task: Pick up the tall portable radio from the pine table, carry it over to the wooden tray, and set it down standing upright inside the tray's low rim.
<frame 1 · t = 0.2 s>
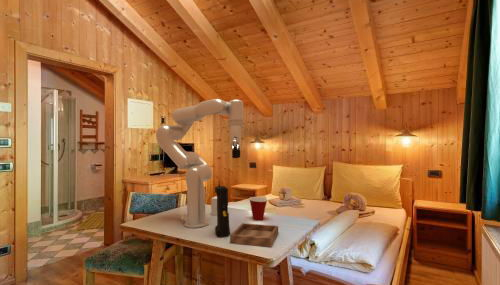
hand: (236, 157, 133), 36 cm above the table, tool pointing down, fingers open, 9 cm apart
plastic cup: (258, 219, 150), on the table
portable radio: (222, 235, 123), on the table
wooden tray: (255, 238, 119), on the table
skincare box: (219, 213, 164), on the table
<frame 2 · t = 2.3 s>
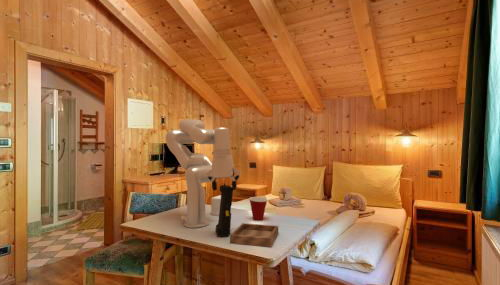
hand: (224, 189, 123), 21 cm above the table, tool pointing down, fingers open, 9 cm apart
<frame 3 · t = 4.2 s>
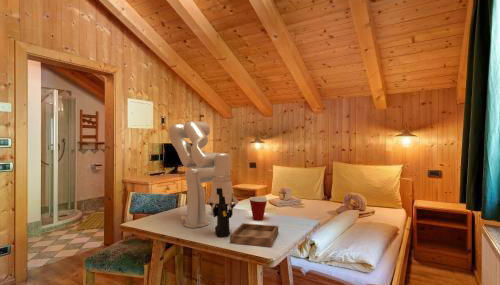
hand: (222, 216, 124), 9 cm above the table, tool pointing down, fingers open, 6 cm apart
portable radio: (222, 235, 123), on the table, touching gripper
everything else where it was.
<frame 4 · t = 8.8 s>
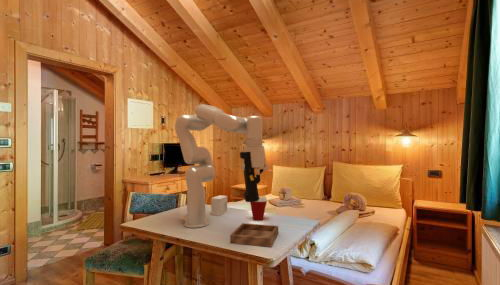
hand: (254, 182, 119), 25 cm above the table, tool pointing down, fingers closed on portable radio, 2 cm apart
portable radio: (252, 200, 120), point 17 cm above the table, touching gripper
everything else where it was.
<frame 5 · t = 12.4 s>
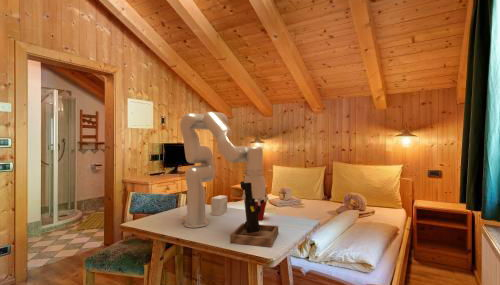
hand: (255, 213, 119), 11 cm above the table, tool pointing down, fingers closed on portable radio, 2 cm apart
portable radio: (252, 231, 120), point 3 cm above the table, touching gripper
everything else where it was.
when the fingers open (10 cm above the table, at t = 13.2 s): portable radio drops 1 cm, resting on wooden tray.
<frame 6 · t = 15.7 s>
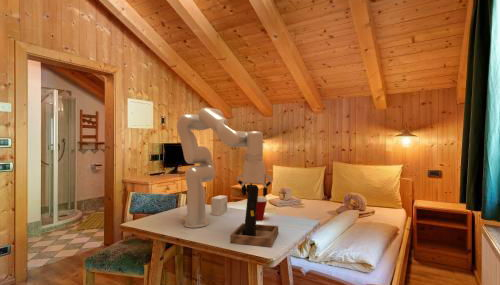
hand: (254, 195, 120), 19 cm above the table, tool pointing down, fingers open, 9 cm apart
portable radio: (248, 235, 119), point 1 cm above the table, touching wooden tray
everything else where it was.
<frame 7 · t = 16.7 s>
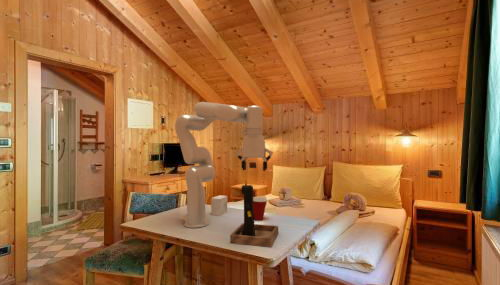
hand: (254, 170, 120), 31 cm above the table, tool pointing down, fingers open, 9 cm apart
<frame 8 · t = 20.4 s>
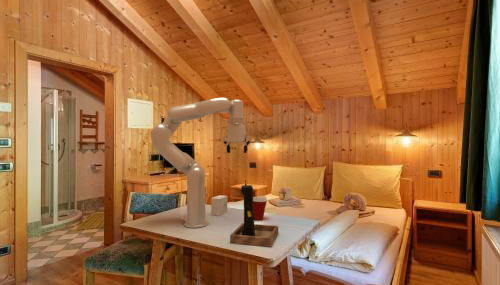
hand: (237, 152, 145), 38 cm above the table, tool pointing down, fingers open, 9 cm apart
at the end: portable radio inside the target area on the wooden tray (3.3 cm from its centre), point 0.8 cm above the wooden tray's base; portable radio tilted 0°; the gripper is holding nothing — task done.
